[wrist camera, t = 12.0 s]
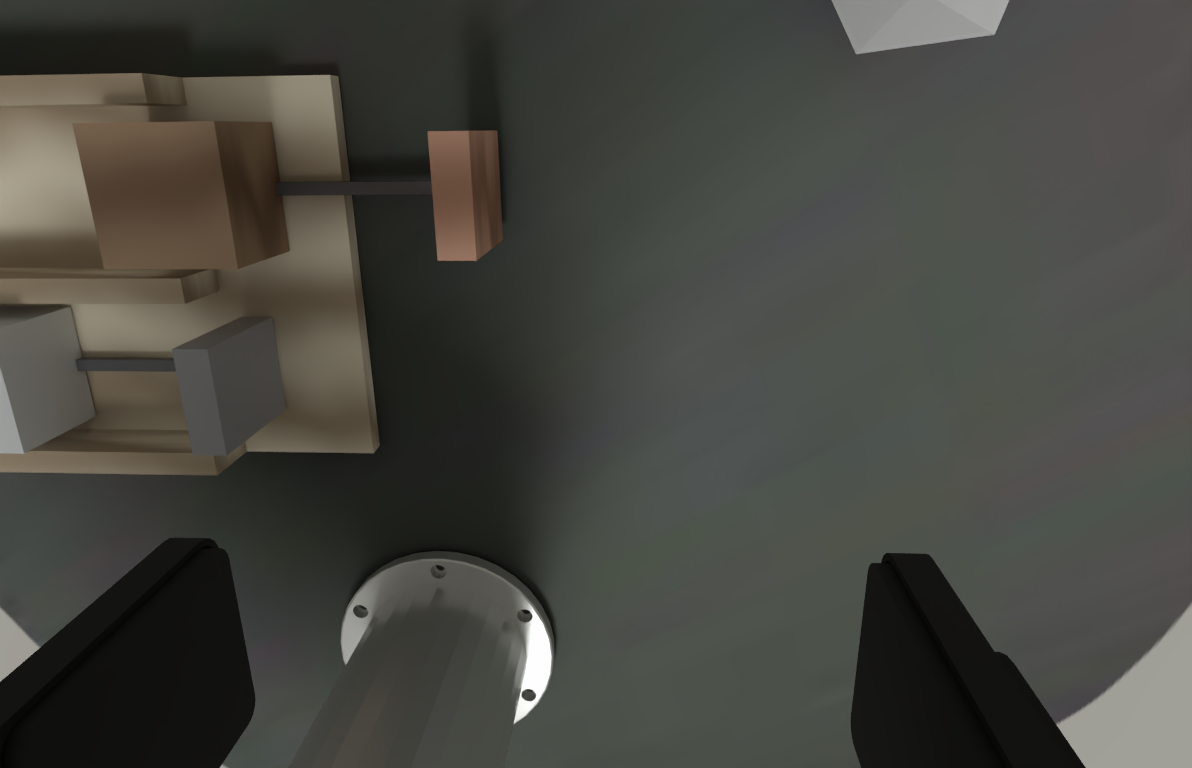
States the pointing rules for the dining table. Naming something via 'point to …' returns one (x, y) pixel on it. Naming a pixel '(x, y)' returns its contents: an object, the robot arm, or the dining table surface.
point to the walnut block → (255, 193)
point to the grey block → (203, 366)
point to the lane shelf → (185, 271)
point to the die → (916, 21)
